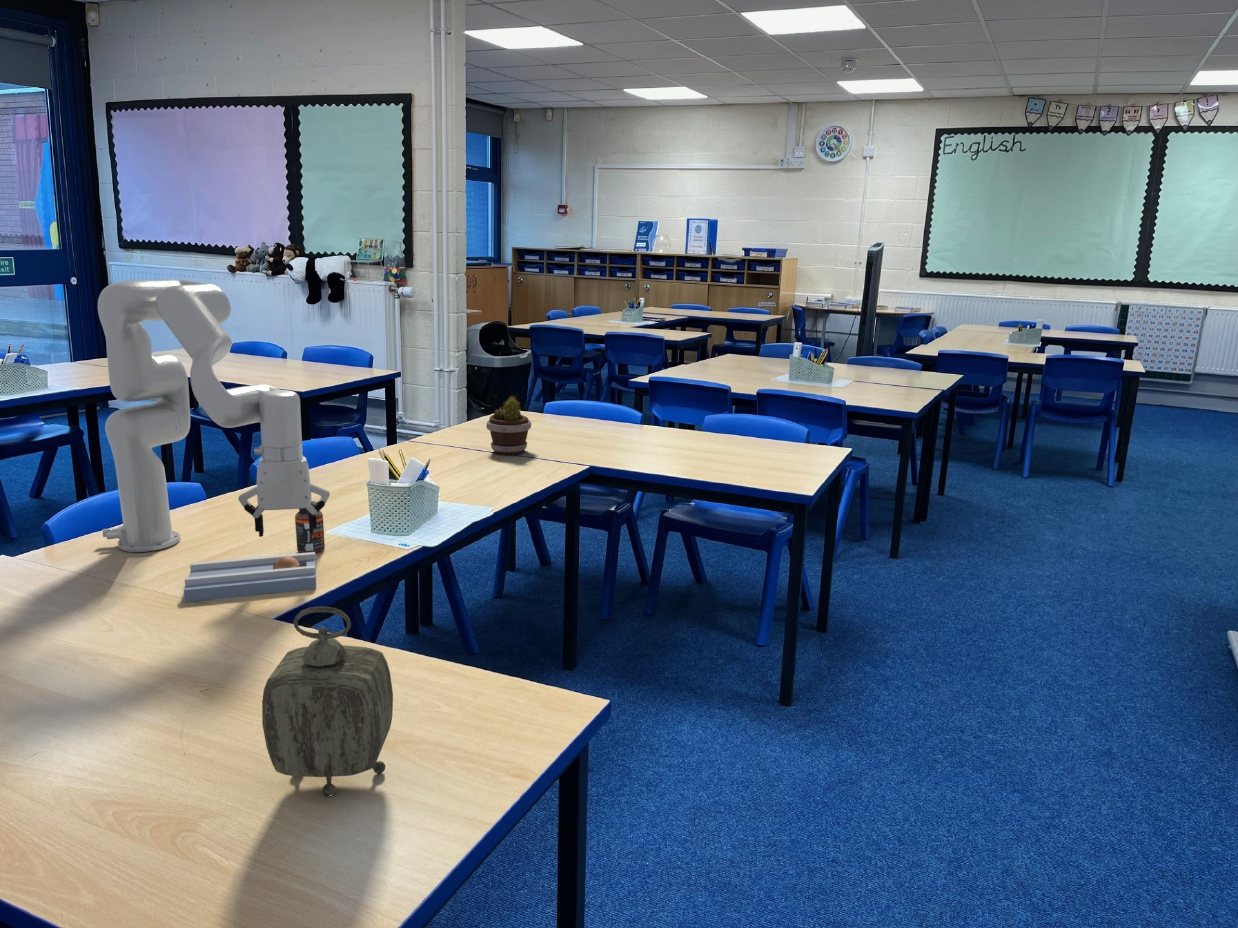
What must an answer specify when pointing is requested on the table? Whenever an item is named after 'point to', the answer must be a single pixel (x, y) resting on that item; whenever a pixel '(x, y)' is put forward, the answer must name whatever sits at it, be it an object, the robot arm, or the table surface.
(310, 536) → the supplement bottle
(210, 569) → the track
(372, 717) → the tabletop clock
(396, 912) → the table surface
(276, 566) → the ball
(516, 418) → the flowerpot
